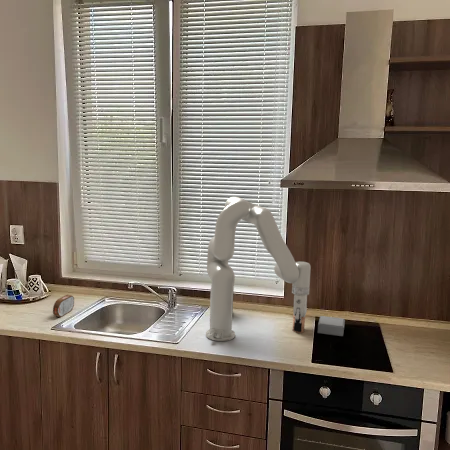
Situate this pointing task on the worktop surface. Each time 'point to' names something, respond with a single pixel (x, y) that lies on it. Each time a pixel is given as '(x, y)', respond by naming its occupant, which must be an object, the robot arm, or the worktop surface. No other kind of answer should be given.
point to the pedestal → (331, 325)
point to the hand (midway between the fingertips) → (298, 328)
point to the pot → (301, 322)
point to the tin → (63, 305)
